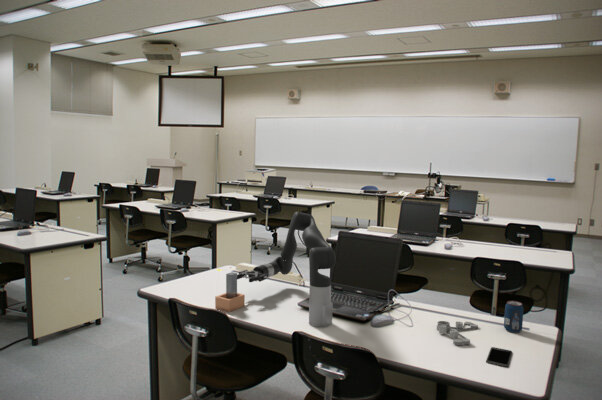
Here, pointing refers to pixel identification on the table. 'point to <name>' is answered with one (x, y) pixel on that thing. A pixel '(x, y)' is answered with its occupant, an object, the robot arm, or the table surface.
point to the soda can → (513, 316)
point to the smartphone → (499, 357)
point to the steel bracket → (231, 285)
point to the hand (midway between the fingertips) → (242, 278)
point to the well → (229, 302)
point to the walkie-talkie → (391, 306)
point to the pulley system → (455, 331)
